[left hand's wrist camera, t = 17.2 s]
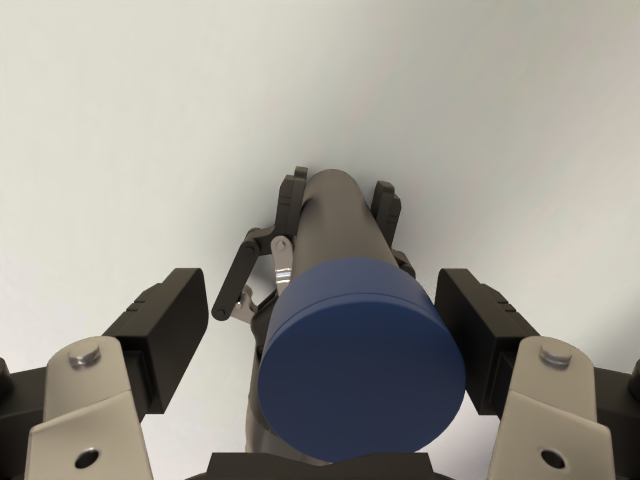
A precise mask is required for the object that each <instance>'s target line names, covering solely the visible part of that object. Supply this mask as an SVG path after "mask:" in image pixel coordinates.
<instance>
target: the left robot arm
mask: <svg viewBox="0 0 640 480" xmlns="http://www.w3.org/2000/svg"><path fill="white" fill-rule="evenodd" d="M434 307H435V308H436V310H437V312H438V313H439V315H440V317H441V318H442V320H443V322H444V324H445V325H446V327H447V329H448V330H449V332H450V334H451V335H452V337H453V339H454V341H455V342H456V344H457V346H458V348H459V350H460V352H461V354H462V357H463V360H464V364H465V369H466V391H467V393H468V395H469V397H470V399H471V401H472V403H473V404H474V406H475V408H476V410H477V412H478V414H479V415H497V416H498V418H499V419H500V425H499V429H498V433H497V437H496V441H495V445H494V449H493V454H492V458H491V462H490V466H489V470H488V474H487V478H486V480H640V359H639V360H638V361H637V363H636V365H635V368H634V370H633V373H632V375H631V374H626V373H621V372H616V371H611V370H606V369H601V368H596V367H593V363H592V362H591V360H590V359H589V358H588V356H586V355H585V354H584V353H583V352H582V351H580V350H579V349H577V348H576V347H574V346H572V345H570V344H568V343H566V342H563V341H560V340H558V339H554V338H550V337H545V336H541V335H540V334H539V333H538V332H537V331H536V330H535V329H534V328H533V327H532V326H531V325H530V324H529V323H528V322H527V321H526V320H525V319H524V318H523V317H522V316H521V315H520V313H519V312H516V309H515V308H514V307H513V306H512V305H511V304H509V303H508V301H507V300H506V299H505V298H504V297H503V296H502V295H501V294H500V293H499V292H498V291H496V290H494V289H493V288H491V287H489V286H487V285H486V284H480V283H479V282H478V280H477V279H476V278H475V277H474V276H473V275H472V274H471V273H470V272H469V270H467V269H441V270H440V272H439V275H438V281H437V289H436V296H435V303H434ZM208 318H209V312H208V304H207V297H206V289H205V282H204V275H203V271H202V270H201V268H175V269H174V270H173V271H172V272H171V273H170V275H169V276H168V277H167V278H166V279H165V280H164V281H163V282H162V283H157V284H156V285H154V286H152V287H150V288H149V289H147V290H145V291H143V292H142V293H141V294H140V296H139V297H138V298H137V299H136V300H135V301H134V303H132V304H131V305H130V306H129V307H128V308H127V309H126V312H123V313H122V314H121V316H120V317H119V318H118V319H117V320H116V321H115V322H114V323H113V324H112V325H111V326H110V327H109V328H108V329H107V330H106V331H105V332H104V333H103V335H102V336H95V337H90V338H86V339H82V340H80V341H77V342H74V343H72V344H70V345H68V346H66V347H64V348H63V349H61V350H60V351H58V352H57V353H56V354H55V355H54V356H52V358H51V359H50V360H49V362H48V363H47V367H42V368H37V369H32V370H27V371H22V372H17V373H12V374H10V373H9V370H8V368H7V365H6V363H5V361H4V359H3V358H0V480H154V478H153V474H152V470H151V466H150V462H149V458H148V454H147V449H146V445H145V441H144V437H143V433H142V429H141V425H140V423H141V422H142V420H143V418H144V416H145V414H164V412H165V410H166V409H167V407H168V405H169V403H170V401H171V399H172V397H173V395H174V393H175V391H176V389H177V387H178V385H179V383H180V381H181V379H182V377H183V375H184V373H185V371H186V369H187V367H188V365H189V363H190V361H191V359H192V357H193V355H194V353H195V351H196V349H197V347H198V345H199V343H200V341H201V339H202V337H203V335H204V333H205V331H206V329H207V325H208ZM185 480H455V479H453V478H450V477H447V476H444V475H442V474H438V473H435V472H433V469H432V465H431V462H430V459H429V456H428V453H371V454H367V455H363V456H360V457H356V458H352V459H348V460H344V461H340V462H336V463H333V464H329V465H324V466H316V465H311V464H307V463H304V462H300V461H296V460H292V459H288V458H284V457H280V456H277V455H273V454H269V453H212V456H211V459H210V462H209V465H208V469H207V472H205V473H202V474H198V475H196V476H193V477H190V478H187V479H185Z"/></svg>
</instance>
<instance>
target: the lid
mask: <svg viewBox="0 0 640 480" xmlns="http://www.w3.org/2000/svg"><path fill="white" fill-rule="evenodd" d="M465 390H466V369H465V364H464V360H463V357H462V354H461V352H460V350H459V348H458V346H457V344H456V342H455V341H454V339H453V337H452V335H451V334H450V332H449V330H448V329H447V327H446V325H445V324H444V322H443V320H442V318H441V317H440V315H439V313H438V312H437V310H436V308H435V307H434V305H433V303H432V301H431V300H430V298H429V296H428V295H427V293H426V292H425V290H424V289H423V287H422V286H421V285H420V284H419V283H418V282H417V281H416V280H415V279H414V278H413V277H412V276H411V275H409V274H408V273H407V272H405V271H404V270H402V269H400V268H399V267H397V266H394V265H392V264H390V263H387V262H384V261H380V260H377V259H371V258H365V257H348V258H339V259H335V260H330V261H327V262H324V263H321V264H318V265H316V266H314V267H312V268H310V269H308V270H306V271H305V272H303V273H302V274H300V275H299V276H298V277H296V278H295V279H294V280H293V281H292V282H291V283H290V284H289V285H288V286H287V287H286V288H285V289H284V290H283V292H282V293H281V295H280V296H279V298H278V300H277V302H276V304H275V306H274V308H273V311H272V315H271V318H270V323H269V327H268V332H267V336H266V341H265V345H264V350H263V354H262V358H261V363H260V367H259V372H258V379H257V395H258V400H259V404H260V407H261V410H262V412H263V415H264V417H265V419H266V420H267V422H268V424H269V425H270V427H271V428H272V429H273V430H274V432H275V433H276V434H277V435H278V436H279V437H280V438H281V439H282V440H283V441H285V442H286V443H287V444H289V445H290V446H291V447H293V448H294V449H296V450H298V451H300V452H301V453H303V454H306V455H308V456H310V457H312V458H315V459H318V460H322V461H325V462H330V463H336V462H340V461H344V460H348V459H352V458H356V457H360V456H363V455H367V454H371V453H414V452H416V451H418V450H420V449H421V448H423V447H424V446H426V445H428V444H429V443H431V442H432V441H433V440H434V439H436V438H437V437H438V436H439V435H440V434H441V433H442V432H443V431H444V430H445V429H446V428H447V427H448V426H449V424H450V423H451V422H452V421H453V419H454V418H455V416H456V414H457V412H458V411H459V409H460V406H461V404H462V401H463V398H464V394H465Z"/></svg>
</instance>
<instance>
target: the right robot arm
mask: <svg viewBox="0 0 640 480" xmlns="http://www.w3.org/2000/svg"><path fill="white" fill-rule="evenodd" d="M307 171H308V168H304V167H298V166H296V169H295V173H294V176H292V175H286V177H285V179H284V180H283V182H282V184H281V186H280V191H279V199H278V206H277V214H276V221H275V225H274V226H272V227H271V228H267V229H259V228H252V229H250V230H249V232H248V233H247V235H246V237H245V239H244V241H243V242H242V244H241V246H240V248H239V250H238V252H237V254H236V257H235V259H234V261H233V263H232V266H231V268H230V270H229V272H228V275H227V277H226V279H225V281H224V283H223V286H222V288H221V290H220V292H219V295H218V297H217V299H216V301H215V303H214V306H213V308H212V310H211V313H212V316H213V317H214V318H215V319H216V320H219V321H225V320H227V319H228V318H229V317H230V316H232V317H234V318H237V319H239V320H242V321H244V322H247V323H249V324H250V326H251V331H252V333H253V335H254V337H255V340H256V347H255V354H254V362H253V369H252V377H251V384H250V392H249V396H248V407H247V415H246V447H245V453H269V454H273V455H277V456H280V457H284V458H288V459H292V460H296V461H300V462H304V463H307V464H311V465H316V466H324V465H329V464H332V463H330V462H325V461H322V460H318V459H315V458H312V457H310V456H308V455H306V454H303V453H301V452H300V451H298V450H296V449H294V448H293V447H291V446H290V445H289V444H287V443H286V442H285V441H283V440H282V439H281V438H280V437H279V436H278V435H277V434H276V433H275V432H274V430H273V429H272V428H271V427H270V425H269V424H268V422H267V420H266V419H265V417H264V415H263V412H262V410H261V407H260V404H259V400H258V395H257V379H258V372H259V367H260V363H261V358H262V354H263V350H264V345H265V341H266V336H267V332H268V327H269V323H270V318H271V315H272V311H273V308H274V306H275V304H276V302H277V300H278V298H279V296H280V295H281V293H282V292H283V290H284V289H285V288H286V287H287V286H288V285H289V280H290V274H291V268H292V262H293V256H294V250H295V244H296V242H295V236H297V232H298V226H299V220H300V214H301V208H302V202H303V196H304V189H305V183H306V177H307ZM370 211H371V213H372V215H373V217H374V219H375V221H376V223H377V225H378V227H379V229H380V231H381V233H382V235H383V237H384V239H385V241H386V243H387V245H388V247H389V248H390V250H391V252H392V254H393V256H394V258H395V260H396V262H397V264H398V266H399V268H400V269H402V270H404V271H405V272H407V273H408V274H409V275H411V276H412V277H413V278H414V279H415V280H416V278H415V271H414V269H413V268H412V266H411V264H410V263H409V261H408V259H407V258H406V256H405V254H404V253H403V252H400V251H395V250H394V249H392V248H391V245H392V241H393V237H394V233H395V230H396V226H397V222H398V217H399V215H400V211H401V202H400V199H399V197H398V196H397V195H396V194H394V187H393V186H392V185H391V184H390V183H388V182H382V181H378V182H377V184H376V188H375V192H374V196H373V201H372V205H371V209H370ZM267 254H272V255H273V260H274V266H275V271H276V285H277V289H276V290H275V291H274V292H273V293H271V294H270V295H269V296H268V297H267V298H266V299H265V300H264V301H263V302H261V303H260V304H259V305H258V306H256V305H255V304H254V303H253V302H252V294H253V292H252V289H251V288H250V287H249V286H248V285H245V283H246V281H247V279H248V277H249V275H250V273H251V271H252V269H253V266H254V264H255V262H256V260H257V258H258V256H262V255H267Z"/></svg>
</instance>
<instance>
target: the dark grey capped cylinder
mask: <svg viewBox="0 0 640 480" xmlns="http://www.w3.org/2000/svg"><path fill="white" fill-rule="evenodd" d="M348 257H365V258H371V259H377V260H380V261H384V262H387V263H390V264H392V265H394V266H397V267H399V266H398V264H397V262H396V260H395V258H394V256H393V254H392V252H391V250H390V248H389V247H388V245H387V243H386V241H385V239H384V237H383V235H382V233H381V231H380V229H379V227H378V225H377V223H376V221H375V219H374V217H373V215H372V213H371V211H370V209H369V207H368V205H367V203H366V201H365V199H364V198H363V196H362V194H361V192H360V190H359V188H358V186H357V184H356V182H355V181H354V179H353V178H352V177H351V176H350V175H348V174H347V173H345V172H343V171H340V170H335V169H329V170H324V171H321V172H319V173H317V174H316V175H314V176H313V177H312V178H311V179H310V180H309V181H308V183H307V185H306V187H305V190H304V196H303V202H302V208H301V214H300V220H299V226H298V232H297V238H296V244H295V250H294V256H293V262H292V268H291V274H290V280H289V284H290V283H291V282H292V281H293V280H294V279H295V278H296V277H298V276H299V275H300V274H302V273H303V272H305V271H306V270H308V269H310V268H312V267H314V266H316V265H318V264H321V263H324V262H327V261H330V260H335V259H339V258H348Z"/></svg>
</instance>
